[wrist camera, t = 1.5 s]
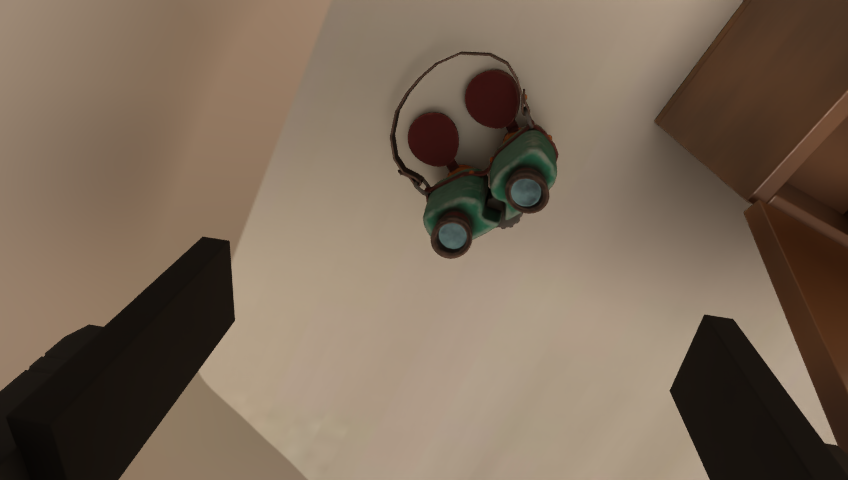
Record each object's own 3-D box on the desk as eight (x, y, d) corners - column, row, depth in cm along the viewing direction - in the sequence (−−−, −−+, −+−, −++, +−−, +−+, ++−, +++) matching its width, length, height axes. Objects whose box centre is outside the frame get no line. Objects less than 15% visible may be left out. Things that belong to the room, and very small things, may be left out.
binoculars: (478, 25, 22) (595, 212, 24) (488, 26, 31) (571, 159, 34) (324, 141, 25) (440, 297, 27) (376, 109, 34) (458, 226, 37)
